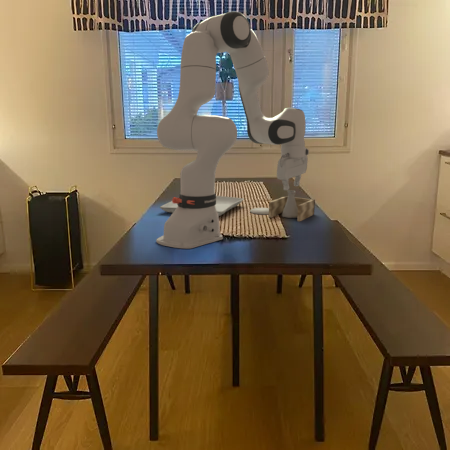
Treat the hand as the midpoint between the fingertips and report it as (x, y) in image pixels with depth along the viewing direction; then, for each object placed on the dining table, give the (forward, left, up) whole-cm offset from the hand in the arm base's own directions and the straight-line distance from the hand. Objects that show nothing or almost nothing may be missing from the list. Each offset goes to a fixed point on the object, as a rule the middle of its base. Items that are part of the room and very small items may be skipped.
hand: (291, 187), depth 179 cm
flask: (-1, 0, -11) cm, 11 cm away
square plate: (-9, +36, -12) cm, 39 cm away
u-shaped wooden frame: (0, 0, -11) cm, 11 cm away
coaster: (0, +13, -11) cm, 17 cm away
